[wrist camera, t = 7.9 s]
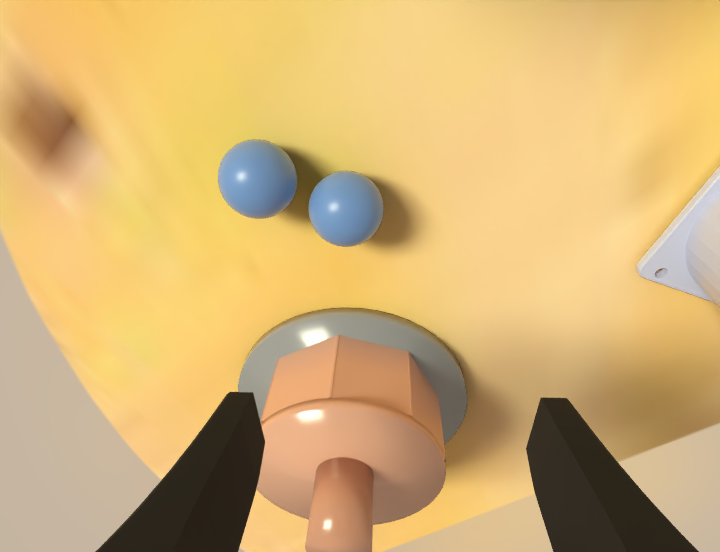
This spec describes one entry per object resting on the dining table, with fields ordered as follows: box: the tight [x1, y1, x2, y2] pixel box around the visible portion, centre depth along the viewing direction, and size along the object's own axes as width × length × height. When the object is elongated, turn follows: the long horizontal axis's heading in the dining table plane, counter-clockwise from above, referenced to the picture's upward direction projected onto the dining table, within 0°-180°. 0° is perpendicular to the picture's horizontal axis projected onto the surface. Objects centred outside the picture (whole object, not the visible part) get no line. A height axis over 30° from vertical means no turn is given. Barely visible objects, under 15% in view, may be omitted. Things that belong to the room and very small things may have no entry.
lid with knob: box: [256, 335, 446, 552], centre depth 22 cm, size 10×10×8 cm
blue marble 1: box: [218, 140, 297, 219], centre depth 18 cm, size 3×3×3 cm
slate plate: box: [238, 308, 467, 445], centre depth 26 cm, size 13×13×1 cm
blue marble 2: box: [309, 171, 384, 247], centre depth 18 cm, size 3×3×3 cm
